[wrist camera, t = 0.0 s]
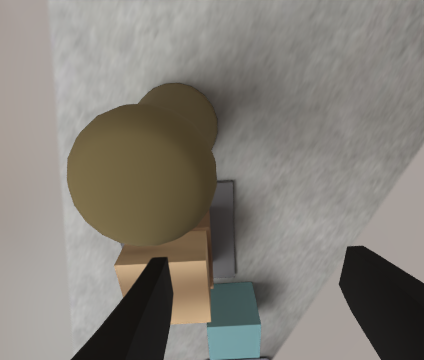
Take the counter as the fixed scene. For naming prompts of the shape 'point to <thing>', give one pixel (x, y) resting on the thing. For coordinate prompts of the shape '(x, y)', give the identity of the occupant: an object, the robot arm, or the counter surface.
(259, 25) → the counter surface
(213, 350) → the teal block
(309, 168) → the counter surface
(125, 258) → the oak top block
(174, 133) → the cork
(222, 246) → the coaster mat
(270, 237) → the counter surface
